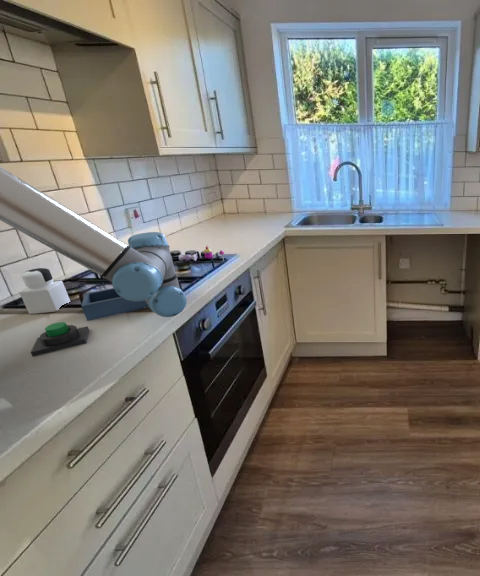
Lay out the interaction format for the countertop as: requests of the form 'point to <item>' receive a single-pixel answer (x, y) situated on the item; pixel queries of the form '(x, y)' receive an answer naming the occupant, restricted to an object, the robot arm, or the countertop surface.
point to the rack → (107, 304)
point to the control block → (60, 340)
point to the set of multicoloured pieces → (188, 257)
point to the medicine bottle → (42, 292)
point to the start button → (56, 329)
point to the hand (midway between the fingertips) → (135, 266)
